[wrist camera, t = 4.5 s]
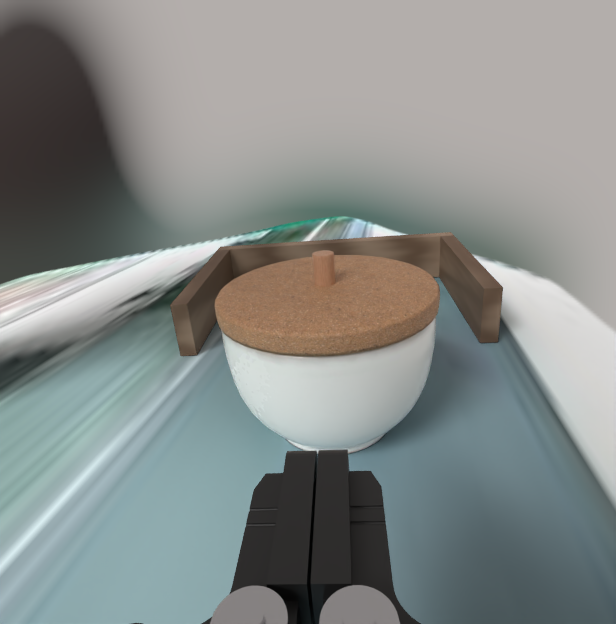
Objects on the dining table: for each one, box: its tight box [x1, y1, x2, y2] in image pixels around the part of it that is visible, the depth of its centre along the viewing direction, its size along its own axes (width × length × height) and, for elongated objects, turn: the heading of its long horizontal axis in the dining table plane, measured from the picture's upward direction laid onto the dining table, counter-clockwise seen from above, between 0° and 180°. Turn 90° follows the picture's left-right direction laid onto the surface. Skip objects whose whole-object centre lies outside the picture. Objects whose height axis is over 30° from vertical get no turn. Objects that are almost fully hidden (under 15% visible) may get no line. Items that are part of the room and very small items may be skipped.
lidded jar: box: [215, 250, 440, 454], centre depth 24 cm, size 11×11×9 cm
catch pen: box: [170, 232, 503, 356], centre depth 39 cm, size 22×15×4 cm
